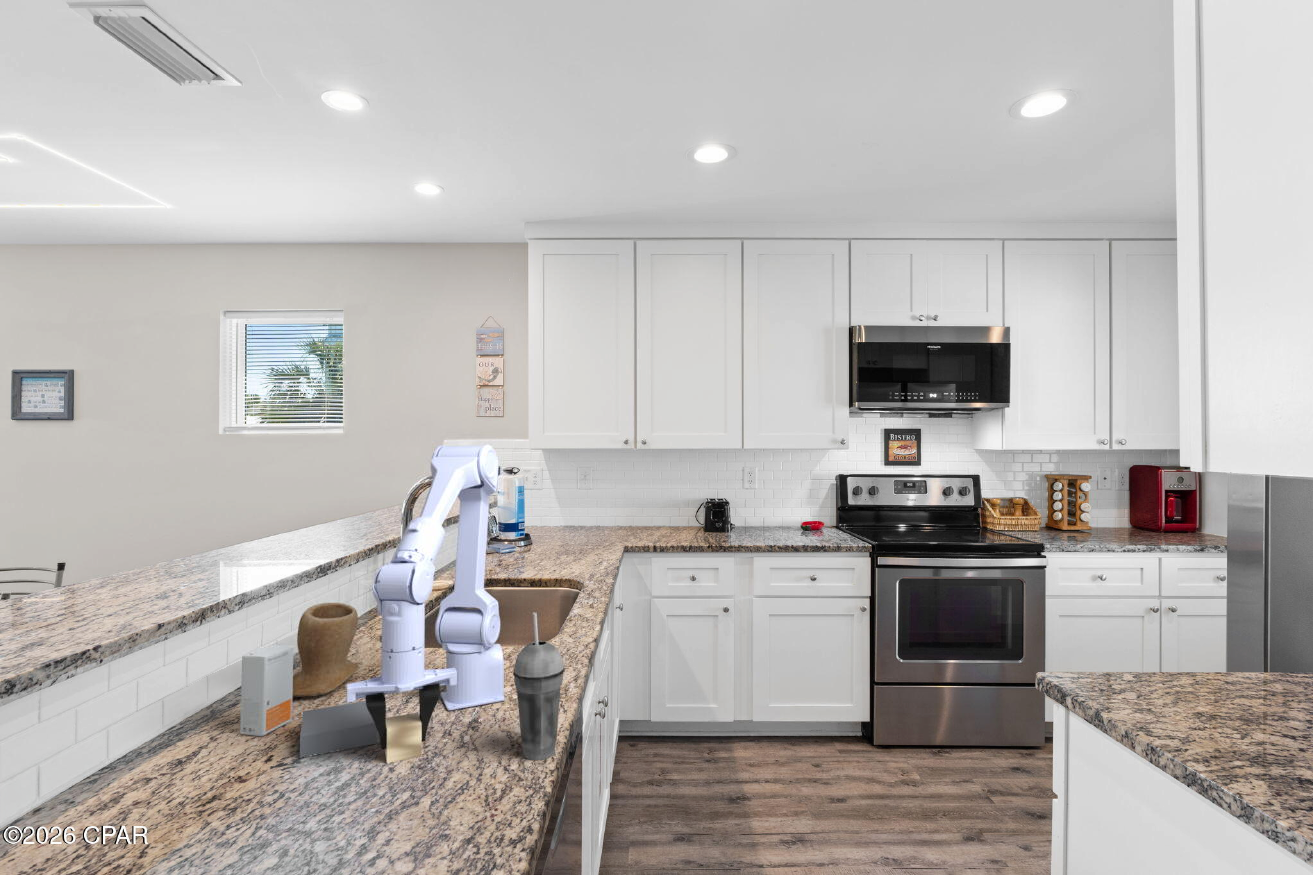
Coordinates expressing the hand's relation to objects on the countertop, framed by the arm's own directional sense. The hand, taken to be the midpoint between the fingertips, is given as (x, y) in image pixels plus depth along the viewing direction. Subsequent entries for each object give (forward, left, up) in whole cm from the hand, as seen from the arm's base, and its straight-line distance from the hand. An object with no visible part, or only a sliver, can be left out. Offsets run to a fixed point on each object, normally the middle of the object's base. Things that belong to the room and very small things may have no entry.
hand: (402, 742), depth 90 cm
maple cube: (0, 0, -1) cm, 1 cm away
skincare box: (+18, -19, -2) cm, 26 cm away
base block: (+8, -10, -1) cm, 13 cm away
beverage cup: (-17, +9, -2) cm, 19 cm away
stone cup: (+10, -35, -2) cm, 36 cm away
